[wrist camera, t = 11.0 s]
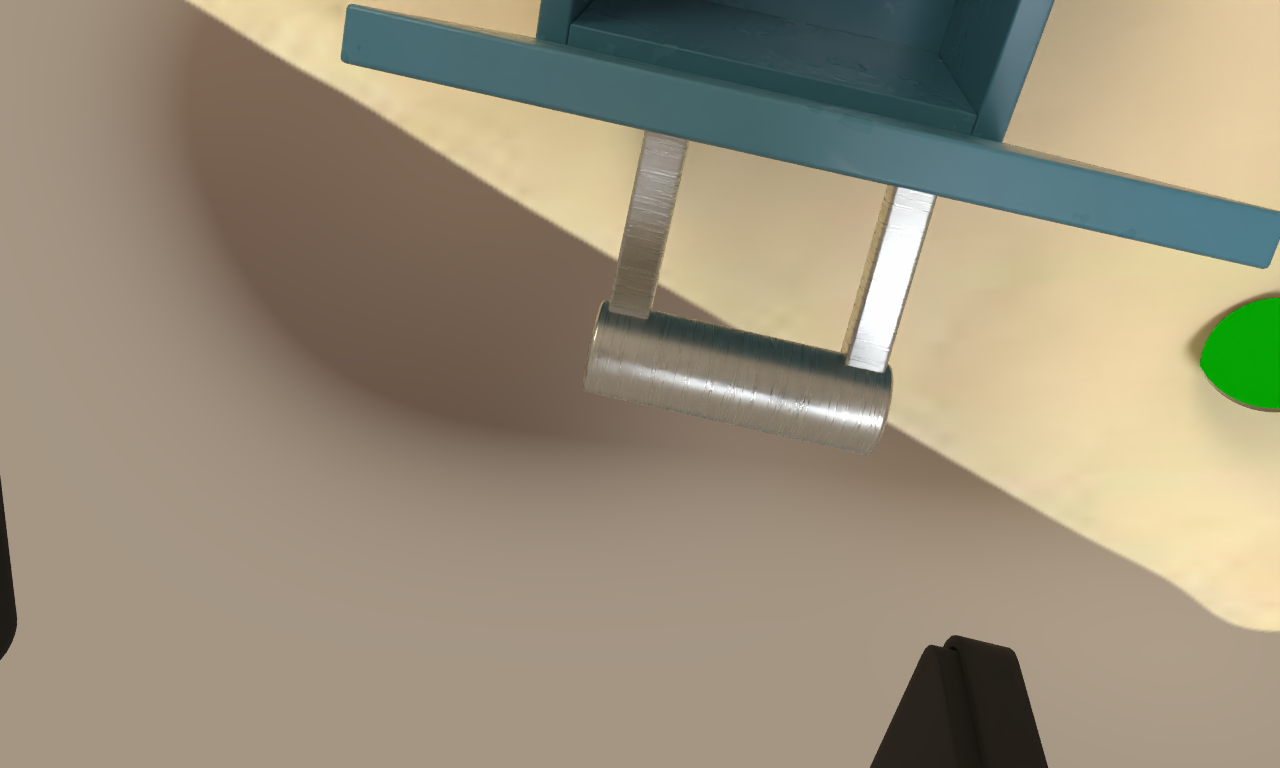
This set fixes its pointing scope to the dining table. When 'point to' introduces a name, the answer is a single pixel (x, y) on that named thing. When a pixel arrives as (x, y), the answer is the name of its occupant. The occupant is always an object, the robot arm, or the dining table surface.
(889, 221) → the teal box lid
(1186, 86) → the dining table surface
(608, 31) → the teal open box
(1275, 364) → the stick construction toy
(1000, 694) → the robot arm
